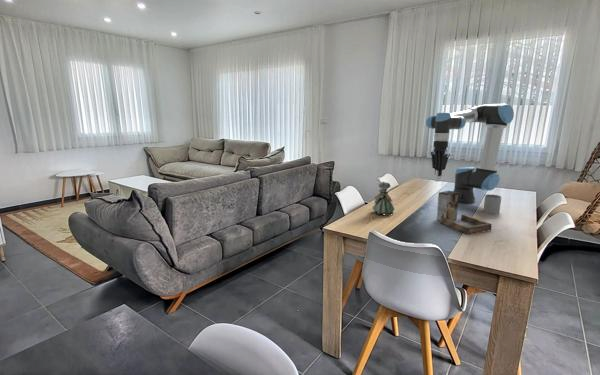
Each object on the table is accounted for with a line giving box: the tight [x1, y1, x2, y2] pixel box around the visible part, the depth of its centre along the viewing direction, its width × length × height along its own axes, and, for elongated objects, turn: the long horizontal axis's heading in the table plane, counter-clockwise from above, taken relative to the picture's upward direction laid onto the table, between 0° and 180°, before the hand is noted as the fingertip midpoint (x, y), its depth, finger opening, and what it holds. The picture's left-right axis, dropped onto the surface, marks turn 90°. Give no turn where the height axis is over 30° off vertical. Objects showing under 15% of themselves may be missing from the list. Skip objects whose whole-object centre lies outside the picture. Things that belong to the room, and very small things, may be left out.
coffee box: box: [436, 190, 459, 221], centre depth 179 cm, size 9×6×16 cm
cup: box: [483, 194, 502, 215], centre depth 192 cm, size 8×8×10 cm
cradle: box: [439, 213, 492, 235], centre depth 169 cm, size 18×16×4 cm
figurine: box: [372, 181, 395, 215], centre depth 193 cm, size 14×14×20 cm
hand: (437, 181), depth 185 cm, fingers closed
